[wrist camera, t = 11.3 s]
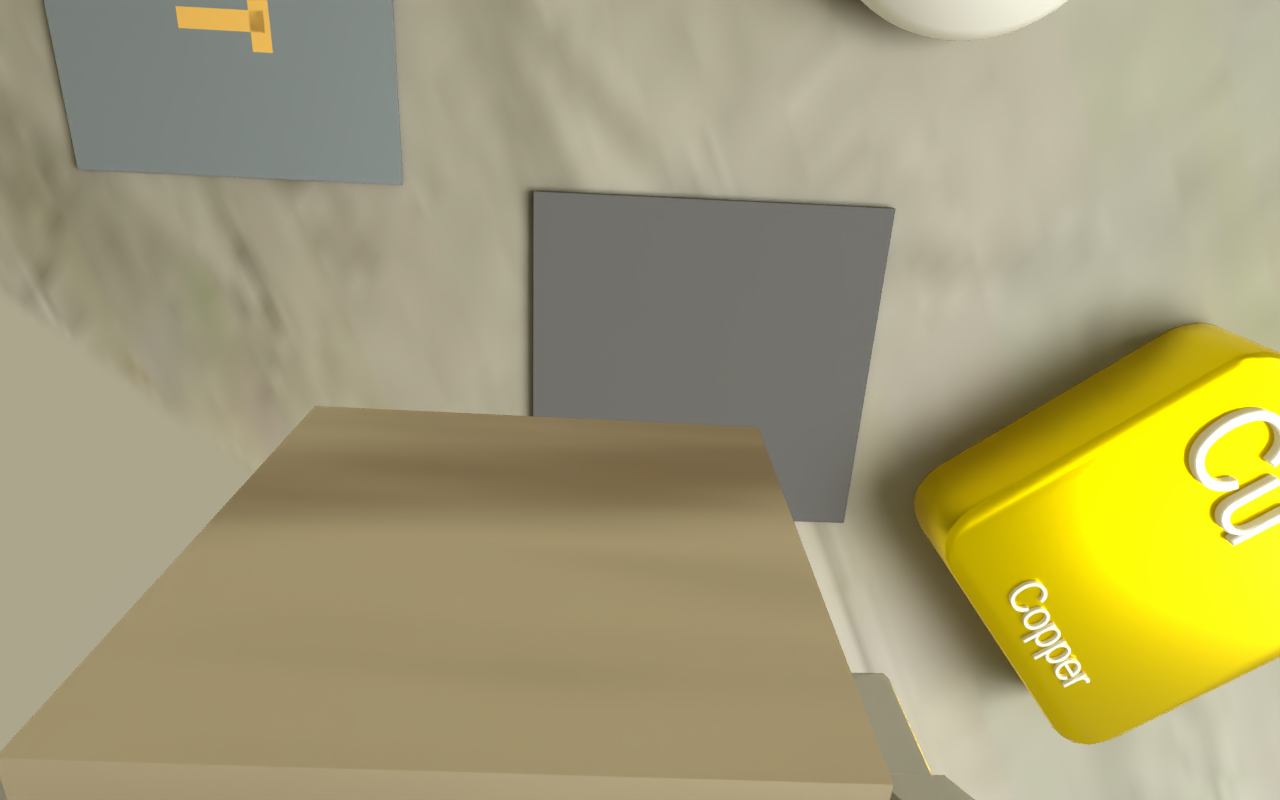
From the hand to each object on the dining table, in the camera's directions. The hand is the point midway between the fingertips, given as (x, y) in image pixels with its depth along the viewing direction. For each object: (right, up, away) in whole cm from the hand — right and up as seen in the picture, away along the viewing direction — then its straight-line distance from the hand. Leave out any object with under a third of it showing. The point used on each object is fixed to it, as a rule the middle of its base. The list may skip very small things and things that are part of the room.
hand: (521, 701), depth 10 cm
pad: (+4, +5, +24) cm, 25 cm away
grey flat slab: (-13, +19, +18) cm, 29 cm away
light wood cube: (0, +1, +2) cm, 2 cm away
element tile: (+24, -2, +28) cm, 36 cm away
